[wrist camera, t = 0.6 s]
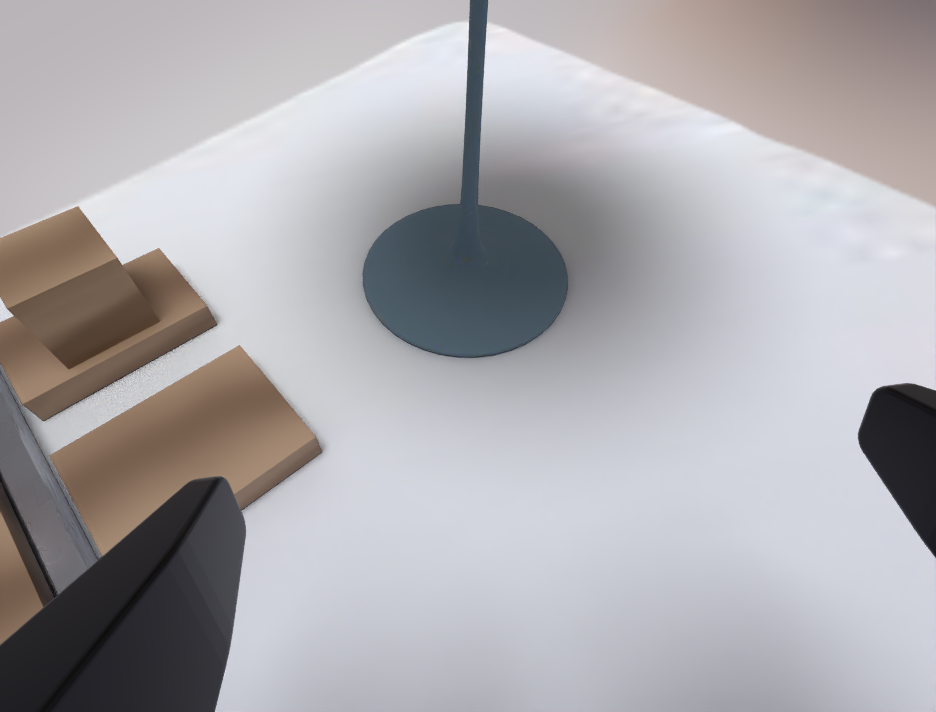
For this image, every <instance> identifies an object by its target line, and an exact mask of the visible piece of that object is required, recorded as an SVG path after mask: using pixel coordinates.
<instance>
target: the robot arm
mask: <svg viewBox="0 0 936 712" xmlns="http://www.w3.org/2000/svg"><path fill="white" fill-rule="evenodd" d="M858 441H859V445H860V447H861V449H862V451H863V453H864V454H865V456H866V457H867V459H868V460H869V462H870V463H871V465H872V466H873V468H874V469H875V471H876V472H877V474H878V475H879V477H880V478H881V480H882V481H883V483H884V484H885V486H886V487H887V489H888V490H889V492H890V493H891V495H892V496H893V498H894V499H895V501H896V502H897V504H898V505H899V507H900V508H901V510H902V511H903V513H904V514H905V516H906V517H907V519H908V520H909V522H910V523H911V525H912V526H913V528H914V529H915V531H916V532H917V533H918V535H919V536H920V538H921V539H922V541H923V542H924V543H925V545H926V546H927V547H928V549H929V550H930V551H931V553H932V554H933V555H934V556H935V558H936V391H935V390H932V389H929V388H926V387H922V386H919V385H916V384H910V383H903V384H895V385H888V386H882V387H880V388H877V389H876V390H875V391H874V392H873V394H872V396H871V398H870V401H869V403H868V406H867V409H866V412H865V415H864V417H863V420H862V423H861V426H860V428H859V432H858ZM245 537H246V526H245V520H244V517H243V514H242V512H241V510H240V507H239V505H238V503H237V500H236V498H235V495H234V493H233V491H232V488H231V486H230V484H229V482H228V480H227V479H226V478H224V477H222V476H213V477H206V478H198V479H194V480H191V481H189V482H188V483H187V484H185V485H184V486H183V487H182V488H181V489H180V490H178V491H177V492H176V493H175V494H174V495H173V496H171V497H170V498H169V499H168V500H167V501H166V502H165V503H163V504H162V505H161V506H160V507H159V508H158V509H156V510H155V511H154V512H153V513H152V514H151V515H149V516H148V517H147V518H146V519H145V520H144V521H143V522H141V523H140V524H139V525H138V526H137V527H136V528H134V529H133V530H132V531H131V532H130V533H129V534H128V535H126V536H125V537H124V538H123V539H122V540H121V541H119V542H118V543H117V544H116V545H115V546H114V547H112V548H111V549H110V550H109V551H108V552H107V553H106V554H104V555H103V556H102V557H101V558H100V559H99V560H97V561H96V562H95V563H94V564H93V565H92V566H91V567H89V568H88V569H87V570H86V571H85V572H84V573H82V574H81V575H80V576H79V577H78V578H77V579H75V580H74V581H73V582H72V583H71V584H70V585H69V586H67V587H66V588H65V589H64V590H63V591H62V592H60V593H59V594H58V595H57V596H56V597H55V598H54V599H52V600H51V601H50V602H49V603H48V604H47V605H45V606H44V607H43V608H42V609H41V610H40V611H38V612H37V613H36V614H35V615H34V616H33V617H32V618H30V619H29V620H28V621H27V622H26V623H25V624H23V625H22V626H21V627H20V628H19V629H18V630H17V631H15V632H14V633H13V634H12V635H11V636H10V637H8V638H7V639H6V640H5V641H4V642H3V643H1V644H0V712H215V709H216V705H217V701H218V697H219V693H220V689H221V684H222V680H223V676H224V672H225V668H226V664H227V659H228V655H229V650H230V645H231V639H232V633H233V626H234V619H235V612H236V604H237V597H238V589H239V582H240V575H241V567H242V560H243V552H244V545H245Z"/></svg>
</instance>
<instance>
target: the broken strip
mask: <svg viewBox="0 0 936 712" xmlns="http://www.w3.org/2000/svg"><path fill="white" fill-rule="evenodd" d="M123 267H124V268H125V270H126V271H127V273H128V274H129V276H130V277H131V279H132V280H133V282H134V283H135V285H136V286H137V288H138V289H139V291H140V292H141V293H142V295H143V296H144V298H145V299H146V301H147V302H148V304H149V305H150V307H151V308H152V310H153V311H154V313H155V314H156V316H157V317H158V319H159V320H160V322H159V323H157V324H155V325H153V326H151V327H149V328H147V329H145V330H143V331H141V332H140V333H138V334H136V335H134V336H132V337H130V338H128V339H126V340H124V341H122V342H121V343H119V344H117V345H115V346H113V347H111V348H109V349H107V350H105V351H104V352H102V353H100V354H98V355H96V356H94V357H92V358H90V359H88V360H86V361H85V362H83V363H81V364H79V365H77V366H75V367H73V368H71V369H68V368H67V367H66V366H65V365H64V364H63V363H62V362H61V361H60V360H59V359H58V358H57V357H55V356H54V355H53V354H52V353H51V352H50V351H49V350H48V349H47V348H46V347H45V346H44V345H43V344H42V343H41V342H40V341H39V340H38V339H37V338H36V337H35V336H34V335H33V334H32V333H31V332H30V331H29V330H28V329H27V328H26V327H25V326H24V325H23V324H22V323H21V322H20V321H19V320H18V319H17V318H16V317H15V316H13V317H11V318H9V319H7V320H5V321H2V322H0V363H1V365H2V367H3V369H4V371H5V373H6V375H7V377H8V378H9V380H10V382H11V384H12V386H13V388H14V390H15V392H16V394H17V395H18V397H19V399H20V401H21V403H22V405H24V406H25V407H26V408H27V409H29V410H30V411H31V412H32V413H34V414H35V415H36V416H37V417H39V418H40V419H41V420H42V421H44V420H46V419H48V418H49V417H51V416H53V415H55V414H57V413H58V412H60V411H62V410H64V409H66V408H67V407H69V406H71V405H73V404H75V403H76V402H78V401H80V400H82V399H84V398H85V397H87V396H89V395H91V394H93V393H94V392H96V391H98V390H100V389H102V388H103V387H105V386H107V385H109V384H111V383H112V382H114V381H116V380H118V379H120V378H122V377H123V376H125V375H127V374H129V373H131V372H132V371H134V370H136V369H138V368H140V367H141V366H143V365H145V364H147V363H149V362H150V361H152V360H154V359H156V358H158V357H159V356H161V355H163V354H165V353H167V352H168V351H170V350H172V349H174V348H176V347H177V346H179V345H181V344H183V343H185V342H186V341H188V340H190V339H192V338H194V337H196V336H197V335H199V334H201V333H203V332H205V331H206V330H208V329H210V328H212V327H214V326H215V325H217V323H216V321H215V320H214V318H213V316H212V314H211V312H210V311H209V309H208V307H207V305H206V304H205V303H204V302H203V300H202V299H201V298H200V297H199V296H198V294H197V293H196V292H195V291H194V290H193V288H192V287H191V286H190V285H189V284H188V282H187V281H186V280H185V279H184V278H183V276H182V275H181V274H180V273H179V272H178V270H177V269H176V268H175V267H174V266H173V264H172V263H171V262H170V261H169V260H168V258H167V257H166V256H165V255H164V253H163V252H162V251H161V250H160V249H159V248H158V249H156V250H154V251H152V252H149V253H147V254H145V255H143V256H141V257H139V258H137V259H134V260H132V261H130V262H128V263H126V264H124V265H123ZM321 452H322V450H321V448H320V446H319V443H318V441H317V439H316V437H315V435H314V434H313V433H312V432H311V431H310V429H309V428H308V427H307V426H306V425H305V423H304V422H303V421H302V420H301V419H300V417H299V416H298V415H297V414H296V412H295V411H294V410H293V409H292V408H291V406H290V405H289V404H288V403H287V402H286V400H285V399H284V398H283V397H282V396H281V394H280V393H279V392H278V391H277V390H276V388H275V387H274V386H273V385H272V384H271V382H270V381H269V380H268V379H267V378H266V376H265V375H264V374H263V373H262V372H261V370H260V369H259V368H258V367H257V366H256V364H255V363H254V362H253V361H252V359H251V358H250V357H249V356H248V355H247V353H246V352H245V351H244V350H243V349H242V347H241V346H240V345H239V346H237V347H235V348H234V349H232V350H230V351H229V352H227V353H225V354H223V355H222V356H220V357H218V358H217V359H215V360H213V361H211V362H210V363H208V364H206V365H204V366H203V367H201V368H199V369H198V370H196V371H194V372H192V373H191V374H189V375H187V376H186V377H184V378H182V379H180V380H179V381H177V382H175V383H174V384H172V385H170V386H168V387H167V388H165V389H163V390H161V391H160V392H158V393H156V394H155V395H153V396H151V397H149V398H148V399H146V400H144V401H143V402H141V403H139V404H137V405H136V406H134V407H132V408H131V409H129V410H127V411H125V412H124V413H122V414H120V415H119V416H117V417H115V418H113V419H112V420H110V421H108V422H106V423H105V424H103V425H101V426H100V427H98V428H96V429H94V430H93V431H91V432H89V433H88V434H86V435H84V436H82V437H81V438H79V439H77V440H76V441H74V442H72V443H70V444H69V445H67V446H65V447H63V448H62V449H60V450H58V451H57V452H55V453H53V454H51V455H50V458H51V460H52V462H53V464H54V466H55V467H56V469H57V471H58V473H59V475H60V477H61V479H62V481H63V483H64V485H65V486H66V488H67V490H68V492H69V494H70V496H71V498H72V500H73V502H74V503H75V505H76V507H77V509H78V511H79V513H80V515H81V517H82V519H83V521H84V522H85V524H86V526H87V528H88V530H89V532H90V534H91V536H92V538H93V539H94V541H95V543H96V545H97V547H98V549H99V551H100V553H101V555H102V556H103V555H104V554H106V553H107V552H108V551H109V550H110V549H111V548H112V547H114V546H115V545H116V544H117V543H118V542H119V541H121V540H122V539H123V538H124V537H125V536H126V535H128V534H129V533H130V532H131V531H132V530H133V529H134V528H136V527H137V526H138V525H139V524H140V523H141V522H143V521H144V520H145V519H146V518H147V517H148V516H149V515H151V514H152V513H153V512H154V511H155V510H156V509H158V508H159V507H160V506H161V505H162V504H163V503H165V502H166V501H167V500H168V499H169V498H170V497H171V496H173V495H174V494H175V493H176V492H177V491H178V490H180V489H181V488H182V487H183V486H184V485H185V484H187V483H188V482H189V481H191V480H194V479H198V478H206V477H213V476H222V477H224V478H226V479H227V480H228V482H229V484H230V486H231V488H232V491H233V493H234V495H235V498H236V500H237V503H238V505H239V507H240V510H242V509H244V508H245V507H246V506H248V505H249V504H251V503H252V502H253V501H255V500H256V499H258V498H259V497H260V496H262V495H263V494H265V493H266V492H267V491H269V490H270V489H271V488H273V487H274V486H276V485H277V484H278V483H280V482H281V481H283V480H284V479H285V478H287V477H288V476H290V475H291V474H292V473H294V472H295V471H296V470H298V469H299V468H301V467H302V466H303V465H305V464H306V463H308V462H309V461H310V460H312V459H313V458H315V457H316V456H317V455H319V454H320V453H321Z"/></svg>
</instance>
